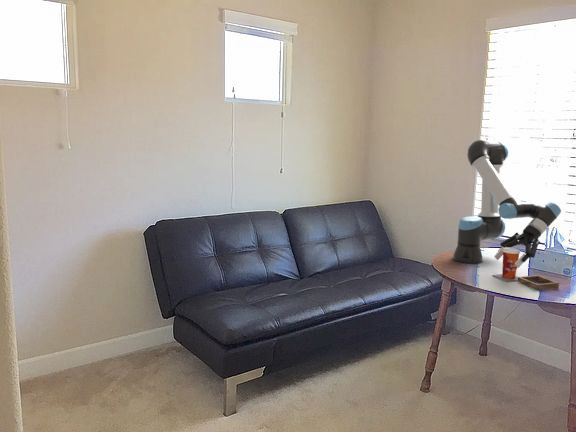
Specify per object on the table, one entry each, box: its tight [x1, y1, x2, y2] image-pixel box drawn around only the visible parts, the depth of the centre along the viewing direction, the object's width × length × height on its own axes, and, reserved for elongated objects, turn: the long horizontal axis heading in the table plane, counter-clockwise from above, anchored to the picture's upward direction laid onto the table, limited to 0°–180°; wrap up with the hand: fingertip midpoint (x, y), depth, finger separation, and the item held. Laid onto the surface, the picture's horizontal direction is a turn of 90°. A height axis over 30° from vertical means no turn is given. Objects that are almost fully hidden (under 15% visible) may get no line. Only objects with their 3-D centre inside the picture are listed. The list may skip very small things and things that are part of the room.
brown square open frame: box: [516, 274, 560, 291], centre depth 226 cm, size 12×12×2 cm
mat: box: [491, 273, 519, 283], centre depth 235 cm, size 10×10×1 cm
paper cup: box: [501, 247, 521, 279], centre depth 234 cm, size 8×8×14 cm
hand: (505, 262), depth 233 cm, fingers open, 13 cm apart
